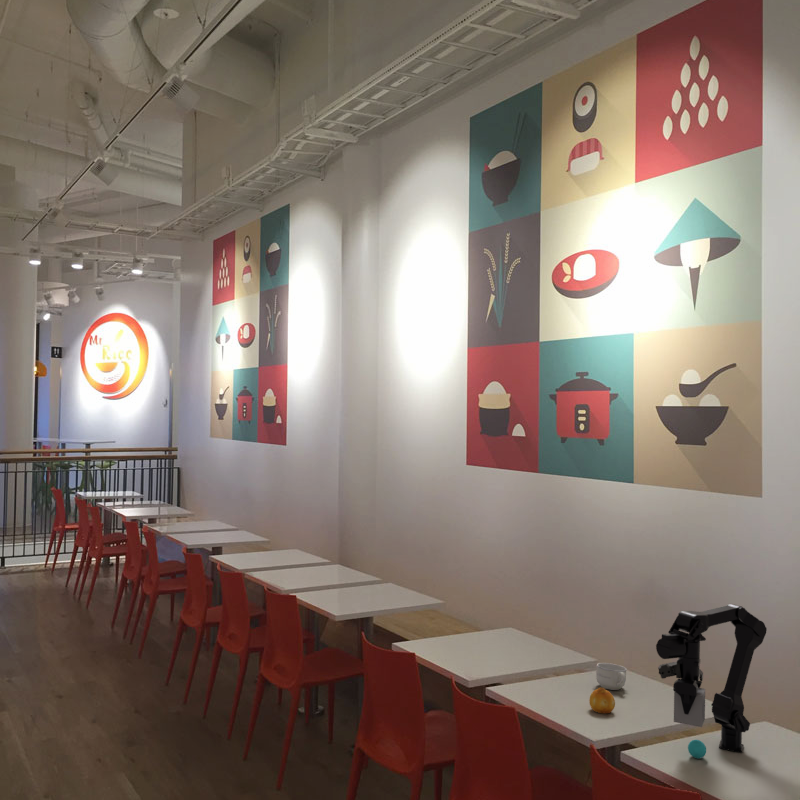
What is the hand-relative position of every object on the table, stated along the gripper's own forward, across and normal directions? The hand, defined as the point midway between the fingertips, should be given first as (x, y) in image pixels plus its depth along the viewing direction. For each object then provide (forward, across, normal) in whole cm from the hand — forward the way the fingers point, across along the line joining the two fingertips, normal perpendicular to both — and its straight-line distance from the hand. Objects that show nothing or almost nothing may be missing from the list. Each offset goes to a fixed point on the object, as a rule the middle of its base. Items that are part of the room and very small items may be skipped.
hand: (688, 710), depth 231 cm
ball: (+10, 0, +3) cm, 11 cm away
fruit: (+13, -24, -30) cm, 41 cm away
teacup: (+13, -51, -32) cm, 62 cm away
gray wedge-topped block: (+3, 0, 0) cm, 3 cm away
